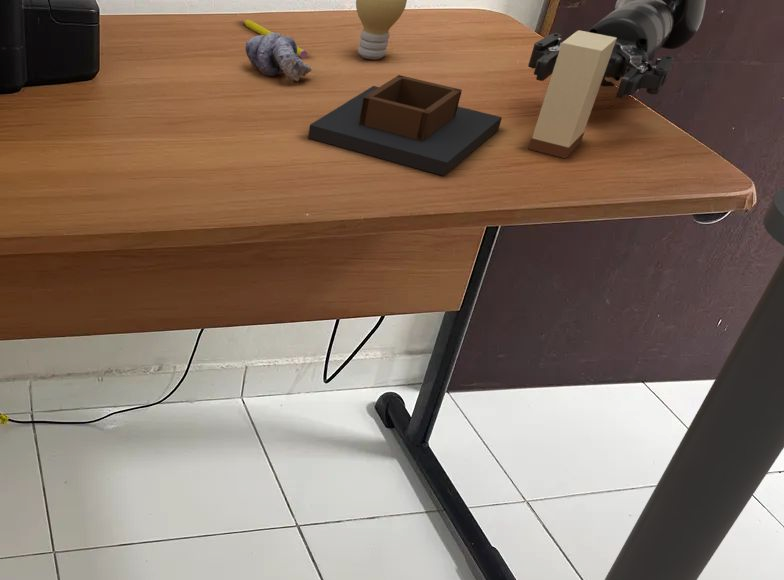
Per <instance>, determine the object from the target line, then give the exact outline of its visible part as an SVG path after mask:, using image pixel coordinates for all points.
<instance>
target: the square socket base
mask: <svg viewBox="0 0 784 580" xmlns="http://www.w3.org/2000/svg"><path fill="white" fill-rule="evenodd" d="M461 96H462V89H460V88H457V87H452V86H447V85H443V84H439V83H435V82H431V81H427V80H422V79H418V78H415V77H409V76H405V75H401V74H398V75H396V76H395V77H393V78H392V79H389V80H388V81H386V82H385V83H383V84H382V85H380V86H376V85H373V86H371V87H369V88H368V89H366V90H364V91H363V92H361V93H359V94H358V95H356V96H354V97H353V98H351V99H349V100H348V101H346V102H344V103H343V104H341V105H340V106H338V107H337V108H335V109H333V110H331V111H330V112H329V113H327V114H325V115H324V116H322V117H320V118H319V119H316V121H314V122H312V123H310V124H309V129H308V134H307V138H308V139H311V140H314V141H317V142H320V143H326V144H328V145H332V146H335V147H338V148H343V149H346V150H349V151H353V152H356V153H361V154H364V155H366V156H367V155H368V156H372V157H375V158H378V159H381V160H386V161H389V162H393V163H395V164H399V165H403V166H405V167H411V168H413V169H416V170H420V171H424V172H427V173H430V174H435V175H439V176H442V177H444V176H446V175H447V174H449V172H450V171H451V170H453V169H454V168H455V167H456V166H458V165H459V164H460V163H462V161H463V160H465V159H466V158H467V157H468V156H469V155H471V154H472V153H473V152H474V151H476V150H477V149H478V148H479V147H480V146H481V145H483V144H484V143H485V142H486V141H488V139H490V138H491V137H492V136H493V135H495V134H496V133H497V132H498V131H499V129H500V126H501V122H502V119H503V116H498V115H494V114H491V113H486V112H482V111H478V110H474V109H470V108H466V107H462V106H459V103H460V99H461Z"/></svg>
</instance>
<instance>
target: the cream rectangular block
mask: <svg viewBox="0 0 784 580" xmlns="http://www.w3.org/2000/svg"><path fill="white" fill-rule="evenodd" d="M616 39H617V38H616V37H611V36H606V35H601V34H595V33H590V32H588V31H583V30H579V29H578V30H576V31H574V33H573V34H571V35H570V36H569V37H567V38H566V39H565V40H563V41H561V42H562V44H561V47H560V51H559V54H558V57H557V60H556V63H555V66H554V70H553V73H552V74H551V75H550V76H551V77H550V80H549V83H548V86H547V88H546V92H545V95H544V99H543V101H542V105H541V108H540V111H539V114H538V118H537V121H536V124H535V127H534V130H533V133H532V137H531V138H530V141H529V145H528V147H527V149H528V150H530V151H535V152H538V153H541V154H547V155H550V156H553V157H558V158H562V159H566V158H567V157H568V156H569V155H570V154H572V152H574V151H575V149H576V148H577V147H578V146H579V145H580V144H581V143H582V141H583V137H584V135H585V130H586V127H587V124H588V122H589V119H590V116H591V113H592V111H593V108H594V104H595V101H596V99H597V97H598V94H599V90H600V88H601V86H600V85H601V82H602V79H603V76H604V73H605V71H606V68H607V65H608V62H609V59H610V56H611V53H612V51H613V48H614V45H615V42H616Z"/></svg>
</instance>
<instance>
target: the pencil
mask: <svg viewBox="0 0 784 580" xmlns="http://www.w3.org/2000/svg"><path fill="white" fill-rule="evenodd" d="M243 24H244V25H245V27H246V28H248V29H250V30H251V31H252V32H254V33H257V34H259V35H263V36H266V35H267V34H270V33H273V31H271V30H269V29H267V28H265V27H263V26H262V25H260V24H258V23H256V22H255V21H253V20H251V19H244V20H243ZM296 55H297V57H299V58H300V59H305V58H306V57H307V55H308V53H307V51H306V50H305V49H303V48H301V47H299V46H298V45H297V53H296Z"/></svg>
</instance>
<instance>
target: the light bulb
mask: <svg viewBox="0 0 784 580" xmlns="http://www.w3.org/2000/svg"><path fill="white" fill-rule="evenodd" d="M406 7H407V0H355V8H356V13H357V16H358V18H359V21H360V22H361V24H362V26H363V29H362V30H361V32H360V39H359V41H358V42H359V46H358V49H357V51H358V52H357V53H358V54H359V55H360V56H361V57H362V58H363V59H367V60H379V59H382V58H383V57H385V56H386V55H387V52H388V51H387V49H388V45H389V39H390V30H391V28H392V27H393V26H394V25H395V24H396V23H397V21H398V20H399V19H401V16H402V15H403V14H404V11H405V9H406Z"/></svg>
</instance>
